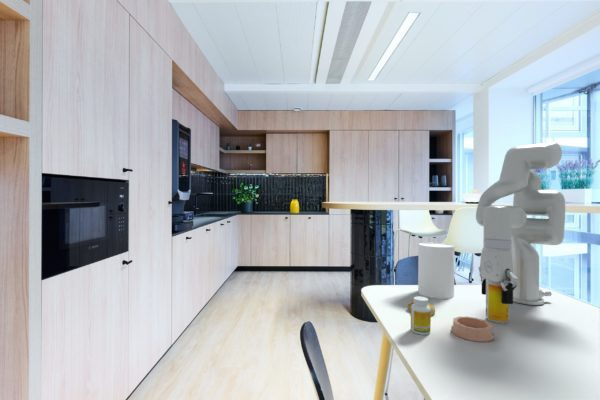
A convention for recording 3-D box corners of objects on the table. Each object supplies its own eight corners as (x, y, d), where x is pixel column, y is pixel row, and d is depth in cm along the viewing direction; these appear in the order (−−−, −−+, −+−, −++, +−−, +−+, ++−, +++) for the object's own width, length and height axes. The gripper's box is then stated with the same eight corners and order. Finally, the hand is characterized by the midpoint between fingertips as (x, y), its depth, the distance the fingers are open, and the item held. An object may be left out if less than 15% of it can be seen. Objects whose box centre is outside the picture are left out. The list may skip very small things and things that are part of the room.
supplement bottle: (407, 328, 93) (407, 296, 93) (422, 326, 94) (423, 294, 94) (418, 336, 88) (418, 301, 88) (434, 334, 89) (434, 300, 89)
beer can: (511, 324, 96) (512, 275, 96) (490, 323, 98) (490, 274, 98) (503, 317, 102) (503, 271, 102) (482, 316, 104) (483, 270, 104)
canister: (443, 288, 136) (443, 242, 136) (461, 298, 122) (461, 247, 123) (412, 289, 135) (413, 242, 135) (427, 298, 122) (427, 247, 122)
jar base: (478, 326, 95) (479, 315, 95) (502, 342, 84) (502, 330, 84) (444, 326, 95) (444, 315, 95) (464, 342, 84) (464, 330, 84)
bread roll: (415, 317, 102) (415, 305, 102) (405, 308, 111) (405, 297, 111) (440, 317, 103) (440, 305, 103) (428, 308, 112) (428, 296, 112)
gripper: (469, 241, 108) (469, 291, 108) (504, 248, 91) (503, 307, 91) (491, 241, 109) (490, 291, 108) (529, 248, 91) (528, 307, 91)
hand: (496, 298), depth 100 cm, fingers open, 9 cm apart
